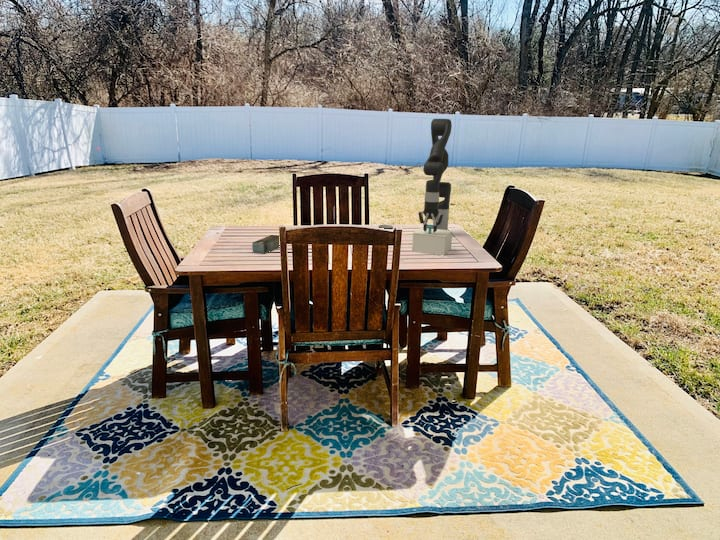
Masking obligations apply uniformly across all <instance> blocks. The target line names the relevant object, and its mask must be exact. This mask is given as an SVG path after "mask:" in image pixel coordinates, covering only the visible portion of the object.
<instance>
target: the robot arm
mask: <svg viewBox="0 0 720 540" xmlns="http://www.w3.org/2000/svg"><path fill="white" fill-rule="evenodd" d="M451 133H452V120H451V119H449V118H433V119H432V121H431V123H430V134H431V143H432V144H431V145H432V146H431V148H430V152H429V156H428V158H427V160H426V161H425V163H424V165H423V168H422V169H423V173H424V175H425V176H428V177H429V176H432V179H430V180H427V181H425V182H426V183H425V193H424V194H425V195H424V206H423V207H424V208H423V211H419V212H418V219H419V222H420V224H422V225H423V230H424V231H425V232H426V231H427V228H426V224H427V223H428V221H429V220H432V225H434V228H433V232H434V233H435V232H436V231H437V229H441V230H448V229H449V218H450V217H449V215H450V200H451V192H452V183H451V182H447V181H446V182H445V181H441V179H442V176H443V174H444V173H445V172H446V170H447V168H448V167H449V153H448V151H447V149H446V146H447V144H448V141H449V138H450V136H451ZM439 137H440V138H439ZM440 198H444V199H443V200H441V201H440ZM423 217H424V218H423ZM427 225H428V224H427Z"/></svg>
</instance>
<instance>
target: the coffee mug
mask: <svg viewBox="0 0 720 540" xmlns="http://www.w3.org/2000/svg"><path fill="white" fill-rule="evenodd" d="M377 227H379V228H384V229H393V230H394V226H393V225H391V224H379V225H378V226H377Z"/></svg>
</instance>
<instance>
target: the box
mask: <svg viewBox="0 0 720 540" xmlns="http://www.w3.org/2000/svg"><path fill="white" fill-rule="evenodd" d="M452 239H453V231H452V232H451V233H450V234H449V235H448V236H446V237H437V236H428V235H420V234H413V233H412V243H411V244H412V248H411V249H412V250H411V252H412V253H419V254H426V253H429V254H428V255H433V254H436V255H435V256H441V255H444V256H446V255H447V254H448V253H449V252H450V251H451V250H452V241H453V240H452ZM450 249H451V250H450ZM449 250H450V251H449ZM448 251H449V252H448ZM447 252H448V253H447Z"/></svg>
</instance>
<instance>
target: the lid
mask: <svg viewBox="0 0 720 540" xmlns="http://www.w3.org/2000/svg"><path fill="white" fill-rule="evenodd" d="M423 227H424V226H423ZM423 227H422V226H421V227H419V228H418V229H416V230H415V231H413V233H412V235H413V234H420V235H428V236H437V237H446V236H448V235H449V234H450V233H451V232H452V233H453V230H441V229H437V231H436V232H435V233H434V232H433V228H434V225H433V224H426V228H427V231H426V232H425V231H424V230H423Z"/></svg>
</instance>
